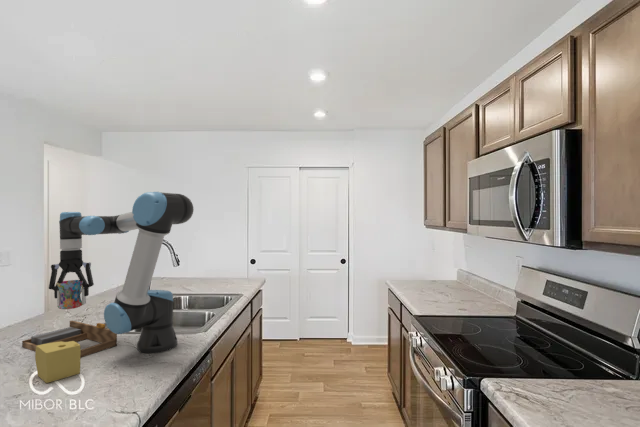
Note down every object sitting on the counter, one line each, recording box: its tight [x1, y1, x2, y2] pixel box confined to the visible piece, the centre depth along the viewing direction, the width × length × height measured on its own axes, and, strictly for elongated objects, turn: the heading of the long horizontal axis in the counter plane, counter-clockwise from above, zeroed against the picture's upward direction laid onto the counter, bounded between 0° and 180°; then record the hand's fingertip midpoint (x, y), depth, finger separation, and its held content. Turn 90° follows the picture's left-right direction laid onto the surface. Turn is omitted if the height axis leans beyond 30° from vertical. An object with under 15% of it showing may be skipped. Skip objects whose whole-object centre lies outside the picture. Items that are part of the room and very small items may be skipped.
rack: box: [21, 320, 118, 358], centre depth 151 cm, size 32×19×8 cm, turn 62°
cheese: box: [34, 341, 82, 384], centre depth 124 cm, size 10×11×10 cm
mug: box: [55, 279, 84, 310], centre depth 152 cm, size 12×9×11 cm
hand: (71, 305), depth 152 cm, fingers closed on mug, 8 cm apart
